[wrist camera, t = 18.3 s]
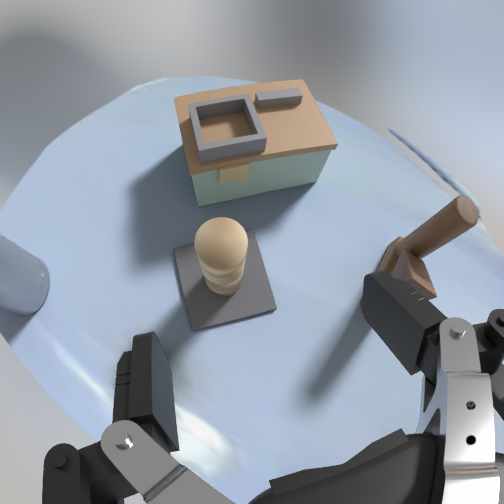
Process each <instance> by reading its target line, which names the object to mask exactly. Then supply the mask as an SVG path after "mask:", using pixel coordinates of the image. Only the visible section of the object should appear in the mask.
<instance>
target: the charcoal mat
mask: <svg viewBox="0 0 504 504" xmlns="http://www.w3.org/2000/svg"><path fill="white" fill-rule="evenodd" d="M246 234H247V238H248V246H247V252H246V259H245V265H244V271H243V277H242V283H241V286H240V288H239V289H238V291H237V292H236V293H234V294H233V295H231V296H227V297H221V296H217V295H215V294H214V293H212V292H211V291H210V290H209V288H208V286H207V283H206V280H205V277H204V274H203V271H202V268H201V265H200V262H199V259H198V256H197V253H196V250H195V245H194V244H192V245H188V246H184V247H180V248H176V249H174V252H175V257H176V262H177V267H178V272H179V276H180V281H181V285H182V290H183V294H184V298H185V303H186V307H187V311H188V315H189V319H190V323H191V327H192V330H197V329H201V328H205V327H210V326H214V325H218V324H222V323H226V322H229V321H233V320H237V319H241V318H245V317H249V316H252V315H256V314H260V313H264V312H267V311H271V310H274V309H277V307H276V304H275V301H274V297H273V294H272V290H271V287H270V284H269V280H268V277H267V274H266V270H265V267H264V264H263V260H262V257H261V254H260V250H259V247H258V244H257V240H256V237H255V234H254V230H251V231H246Z"/></svg>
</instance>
